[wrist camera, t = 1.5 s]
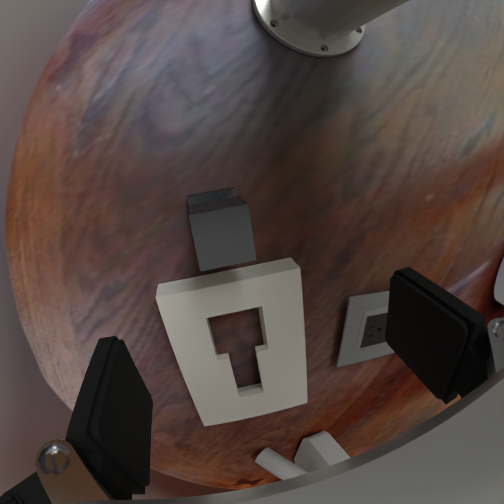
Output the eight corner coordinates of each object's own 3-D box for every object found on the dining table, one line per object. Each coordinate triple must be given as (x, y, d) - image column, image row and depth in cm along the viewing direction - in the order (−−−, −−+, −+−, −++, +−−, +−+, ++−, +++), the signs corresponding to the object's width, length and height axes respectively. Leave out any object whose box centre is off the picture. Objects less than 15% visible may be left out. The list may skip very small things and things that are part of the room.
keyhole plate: (158, 284, 29) (155, 297, 26) (290, 257, 31) (300, 267, 28) (202, 410, 36) (204, 426, 33) (300, 388, 38) (307, 402, 35)
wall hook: (255, 440, 39) (291, 494, 30) (316, 419, 45) (356, 463, 35) (248, 466, 42) (278, 514, 32) (304, 447, 48) (337, 487, 38)
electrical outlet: (419, 279, 37) (430, 285, 34) (404, 340, 40) (412, 348, 38) (342, 290, 34) (351, 299, 32) (331, 358, 38) (338, 368, 35)
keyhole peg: (187, 195, 27) (185, 213, 19) (233, 187, 27) (250, 200, 19) (196, 239, 28) (198, 274, 20) (240, 231, 29) (259, 262, 21)
